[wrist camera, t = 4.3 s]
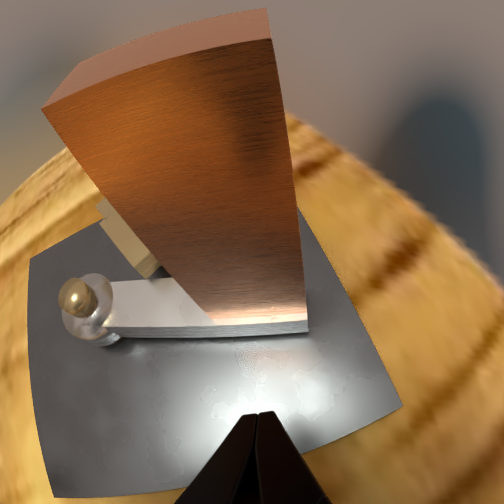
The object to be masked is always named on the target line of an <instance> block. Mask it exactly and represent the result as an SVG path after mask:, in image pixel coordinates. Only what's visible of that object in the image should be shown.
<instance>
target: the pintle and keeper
mask: <svg viewBox="0 0 504 504" xmlns="http://www.w3.org/2000/svg"><path fill="white" fill-rule="evenodd" d="M95 207H96V208H97V209H98V211H99V212H100V213H101V214H102V216H103V217H104V219H103V220H102V221H101V222H100V223H99V224H100V225H101V227H102V228H103V229H104V231H105V232H106V233H107V235H108V236H109V237H110V238H111V240H112V241H113V242H114V244H115V245H116V246H117V247H118V249H119V250H120V251H121V252H122V254H123V255H124V256H125V257H126V259H127V260H128V261H129V262H130V264H131V265H132V266H133V267H134V268H135V269H136V270H137V271H138V272H139V273H140V274H141V275H142V276H143V277H144V278H145V279H147V278H148V277H149V276H150V275H151V274H152V273H153V272H154V271H156V270H157V269H158V268H159V267H160V266H161V264H160V263H159V261H158V260H157V259H156V258H155V257H154V256H153V255H152V253H151V252H150V251H149V250H148V249H147V248H146V246H145V245H144V244H143V243H142V242H141V240H140V239H139V238H138V237H137V236H136V235H135V233H134V232H133V231H132V230H131V229H130V227H129V226H128V225H127V224H126V222H125V221H124V220H123V219H122V218H121V216H120V215H119V214H118V213H117V211H116V210H115V209H114V208H113V206H112V205H111V204H110V203H109V201H108V200H107V199H106V198H104V199H103V200H102V201H101V202H100V203H98V204H97V205H96V206H95ZM95 301H96V295H95V291H94V290H93V288H91V287H90V286H89V285H87V284H86V283H85V282H83V281H82V280H81V279H79V278H71V279H69V280H68V281H66V282H65V283H64V285H63V286H62V288H61V290H60V292H59V296H58V302H59V306H60V307H61V309H63V310H64V311H66V312H67V313H69V314H71V315H72V316H74V317H76V318H83V317H85V316H87V315H88V314H89V313H90V312H91V311H92V309H93V307H94V305H95Z"/></svg>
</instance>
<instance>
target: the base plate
mask: <svg viewBox="0 0 504 504" xmlns="http://www.w3.org/2000/svg"><path fill="white" fill-rule="evenodd" d="M297 210H298V219H299V228H300V238H301V247H302V258H303V268H304V279H305V291H306V304H307V318H308V332H301V333H288V334H274V335H257V336H235V337H202V338H138V337H120V338H119V339H118V340H117V341H116V342H114V343H112V344H111V345H108V346H104V347H99V346H95V345H92V344H90V343H88V342H86V341H84V340H82V339H80V338H78V337H76V336H74V335H72V334H71V333H69V332H68V330H67V329H66V328H65V326H64V323H63V320H62V309H61V307H60V306H59V302H58V296H59V292H60V290H61V288H62V286H63V285H64V283H65V282H66V281H68V280H69V279H71V278H81V277H82V276H84V275H87V274H91V273H97V274H101V275H103V276H104V277H106V278H107V279H108V280H109V281H110V282H118V281H132V280H147V279H160V278H173V277H172V276H171V275H170V274H169V273H168V272H167V271H166V269H165V268H164V267H163V266H162V265H161V266H160V267H159V268H158V269H157V270H156V271H154V272H153V273H152V274H151V275H150V276H149V277H148V278H147V279H145V278H144V277H143V276H142V275H141V274H140V273H139V272H138V271H137V270H136V269H135V268H134V267H133V266H132V265H131V264H130V262H129V261H128V260H127V259H126V257H125V256H124V255H123V254H122V252H121V251H120V250H119V249H118V247H117V246H116V245H115V244H114V242H113V241H112V240H111V238H110V237H109V236H108V235H107V233H106V232H105V231H104V229H103V228H102V227H101V225H100V224H99V223H100V222H101V221H102V220H103V219H104V218H103V219H102V220H100V221H98V222H96V223H94V224H92V225H90V226H88V227H86V228H84V229H82V230H80V231H79V232H77V233H75V234H73V235H71V236H69V237H68V238H66V239H64V240H62V241H60V242H59V243H57V244H55V245H53V246H51V247H50V248H48V249H46V250H44V251H43V252H41V253H39V254H38V255H36V256H34V257H33V258H31V259H30V266H29V280H28V308H27V328H28V355H29V370H30V381H31V390H32V398H33V406H34V413H35V419H36V425H37V430H38V436H39V441H40V446H41V450H42V455H43V459H44V463H45V467H46V471H47V475H48V478H49V482H50V485H51V489H52V492H53V495H54V498H93V497H112V496H125V495H135V494H144V493H152V492H159V491H165V490H172V489H177V488H183V487H188V486H189V485H190V483H191V482H192V481H193V480H194V478H195V477H196V476H197V475H198V473H199V472H200V471H201V469H202V468H203V467H204V466H205V464H206V463H207V462H208V460H209V459H210V458H211V456H212V455H213V454H214V452H215V451H216V450H217V448H218V447H219V446H220V444H221V443H222V442H223V440H224V439H225V438H226V436H227V435H228V434H229V432H230V431H231V429H232V428H233V427H234V425H235V424H236V423H237V421H238V420H239V418H240V417H241V416H242V415H244V414H252V413H257V414H259V413H260V412H266V411H274V412H275V413H276V415H277V416H278V418H279V420H280V422H281V423H282V425H283V427H284V428H285V430H286V432H287V433H288V435H289V436H290V438H291V440H292V441H293V443H294V445H295V446H296V448H297V449H298V451H299V453H300V454H303V453H306V452H308V451H311V450H313V449H316V448H318V447H321V446H323V445H325V444H328V443H330V442H332V441H335V440H337V439H339V438H341V437H344V436H346V435H348V434H350V433H352V432H354V431H356V430H359V429H361V428H363V427H365V426H367V425H369V424H371V423H373V422H375V421H377V420H378V419H380V418H382V417H384V416H386V415H388V414H390V413H391V412H393V411H395V410H397V409H399V408H400V407H402V406H403V405H402V402H401V400H400V398H399V396H398V394H397V392H396V390H395V387H394V385H393V383H392V381H391V379H390V377H389V375H388V373H387V371H386V369H385V367H384V365H383V363H382V360H381V358H380V356H379V354H378V352H377V350H376V348H375V346H374V344H373V342H372V340H371V339H370V337H369V335H368V333H367V331H366V329H365V327H364V325H363V323H362V321H361V319H360V317H359V315H358V313H357V312H356V310H355V308H354V306H353V304H352V302H351V300H350V298H349V297H348V295H347V293H346V291H345V289H344V287H343V285H342V284H341V282H340V280H339V278H338V276H337V275H336V273H335V271H334V269H333V267H332V266H331V264H330V262H329V260H328V258H327V257H326V255H325V253H324V251H323V250H322V248H321V246H320V244H319V243H318V241H317V239H316V237H315V236H314V234H313V232H312V231H311V229H310V227H309V225H308V224H307V222H306V220H305V219H304V217H303V215H302V214H301V212H300V210H299V209H298V207H297Z"/></svg>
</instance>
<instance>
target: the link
mask: <svg viewBox="0 0 504 504" xmlns="http://www.w3.org/2000/svg"><path fill="white" fill-rule="evenodd" d="M41 110H42V112H43V113H44V115H45V116H46V118H47V119H48V120H49V122H50V123H51V125H52V126H53V128H54V129H55V131H56V132H57V133H58V134H59V136H60V138H61V139H62V140H63V142H64V143H65V145H66V146H67V147H68V149H69V150H70V152H71V153H72V154H73V156H74V157H75V158H76V160H77V161H78V162H79V164H80V165H81V166H82V168H83V169H84V170H85V172H86V173H87V174H88V176H89V177H90V178H91V180H92V181H93V182H94V183H95V185H96V186H97V187H98V189H99V190H100V191H101V193H102V194H103V195H104V196H105V198H106V199H107V200H108V201H109V203H110V204H111V205H112V206H113V208H114V209H115V210H116V211H117V213H118V214H119V215H120V216H121V218H122V219H123V220H124V221H125V222H126V224H127V225H128V226H129V227H130V229H131V230H132V231H133V232H134V233H135V235H136V236H137V237H138V238H139V239H140V240H141V242H142V243H143V244H144V245H145V246H146V248H147V249H148V250H149V251H150V252H151V253H152V255H153V256H154V257H155V258H156V259H157V260H158V261H159V263H160V264H161V265H162V266H163V267H164V268H165V269H166V271H167V272H168V273H169V274H170V275H171V276H172V277H173V278H160V279H147V280H132V281H118V282H110V281H109V280H108V279H107V278H106V277H104V276H103V275H101V274H97V273H91V274H87V275H84V276H82V277H81V278H79V279H81V280H82V281H83V282H85V283H86V284H87V285H89V286H90V287H91V288H93V290H94V291H95V295H96V301H95V305H94V307H93V309H92V311H91V312H90V313H89V314H88V315H87V316H85V317H83V318H76V317H74V316H72V315H71V314H69V313H67V312H66V311H64V310H63V309H62V320H63V323H64V326H65V328H66V329H67V330H68V332H69V333H71V334H72V335H74V336H76V337H78V338H80V339H82V340H84V341H86V342H88V343H90V344H92V345H95V346H99V347H104V346H108V345H111V344H112V343H114V342H116V341H117V340H118V339H119V338H120V337H138V338H202V337H235V336H257V335H274V334H288V333H301V332H308V318H307V304H306V291H305V279H304V268H303V258H302V247H301V238H300V228H299V219H298V210H297V201H296V193H295V185H294V177H293V169H292V161H291V154H290V147H289V139H288V132H287V125H286V119H285V112H284V106H283V99H282V93H281V87H280V81H279V75H278V69H277V63H276V58H275V52H274V47H273V41H272V36H271V30H270V25H269V20H268V15H267V10H266V8H262V9H254V10H248V11H242V12H236V13H231V14H226V15H221V16H216V17H212V18H207V19H203V20H199V21H194V22H191V23H187V24H183V25H179V26H176V27H172V28H169V29H166V30H163V31H159V32H156V33H153V34H150V35H147V36H144V37H141V38H139V39H135V40H133V41H130V42H128V43H125V44H122V45H120V46H117V47H114V48H112V49H109V50H107V51H105V52H102V53H100V54H98V55H95V56H93V57H91V58H89V59H86V60H84V61H82V62H80V63H79V64H78V65H77V66H76V67H75V68H74V69H73V70H72V72H71V73H70V74H69V75H68V76H67V77H66V78H65V80H64V81H63V82H62V83H61V84H60V86H59V87H58V88H57V89H56V91H55V92H54V93H53V94H52V95H51V97H50V98H49V99H48V100H47V102H46V103H45V104H44V106H43V107H42V108H41Z"/></svg>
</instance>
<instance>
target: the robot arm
mask: <svg viewBox="0 0 504 504" xmlns="http://www.w3.org/2000/svg"><path fill="white" fill-rule="evenodd" d="M174 504H332V502H331V501H330V499H329V498H328V497H327V496H326V493H325V492H324V490H323V489H322V487H321V486H320V484H319V483H318V481H317V480H316V478H315V476H314V475H313V473H312V472H311V470H310V469H309V467H308V465H307V464H306V462H305V461H304V459H303V458H302V456H301V454H300V453H299V451H298V449H297V448H296V446H295V445H294V443H293V441H292V440H291V438H290V436H289V435H288V433H287V432H286V430H285V428H284V427H283V425H282V423H281V422H280V420H279V418H278V416H277V415H276V413H275V412H274V411H266V412H260V413H259V414H257V413H252V414H244V415H242V416H241V417H240V418H239V420H238V421H237V423H236V424H235V425H234V427H233V428H232V429H231V431H230V432H229V434H228V435H227V436H226V438H225V439H224V440H223V442H222V443H221V444H220V446H219V447H218V448H217V450H216V451H215V452H214V454H213V455H212V456H211V458H210V459H209V460H208V462H207V463H206V464H205V466H204V467H203V468H202V469H201V471H200V472H199V473H198V475H197V476H196V477H195V478H194V480H193V481H192V482H191V483H190V485H189V486H188V487H187V488H186V490H185V491H184V492H183V493H182V494H181V496H180V497H179V498H178V499H177V500H176V502H175V503H174Z"/></svg>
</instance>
